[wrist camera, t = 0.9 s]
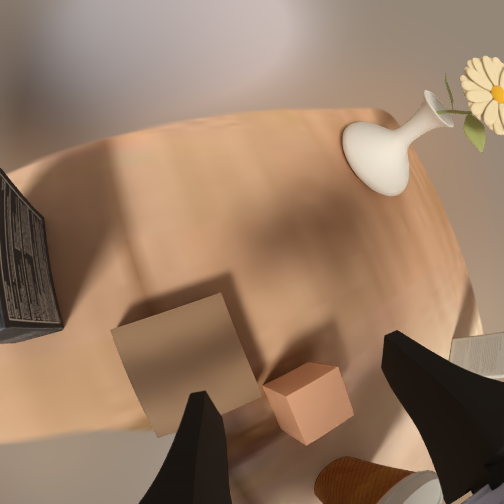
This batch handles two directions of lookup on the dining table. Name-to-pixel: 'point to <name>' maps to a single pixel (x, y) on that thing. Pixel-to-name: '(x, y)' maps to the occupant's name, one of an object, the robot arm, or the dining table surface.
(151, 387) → the walnut block
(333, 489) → the disposable coffee cup
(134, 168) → the dining table surface
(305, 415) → the terracotta cube
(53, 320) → the small box
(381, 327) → the dining table surface
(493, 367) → the skincare box
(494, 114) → the flower in vase
